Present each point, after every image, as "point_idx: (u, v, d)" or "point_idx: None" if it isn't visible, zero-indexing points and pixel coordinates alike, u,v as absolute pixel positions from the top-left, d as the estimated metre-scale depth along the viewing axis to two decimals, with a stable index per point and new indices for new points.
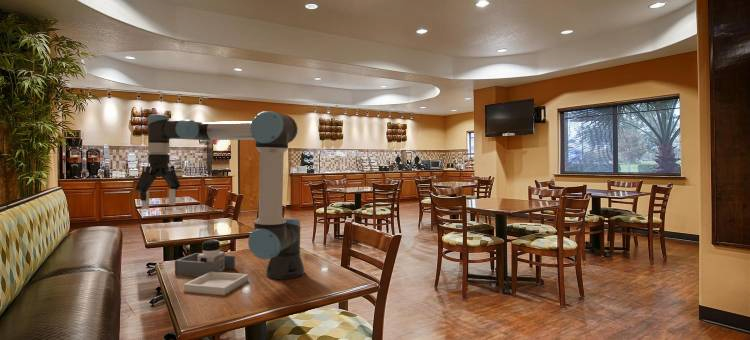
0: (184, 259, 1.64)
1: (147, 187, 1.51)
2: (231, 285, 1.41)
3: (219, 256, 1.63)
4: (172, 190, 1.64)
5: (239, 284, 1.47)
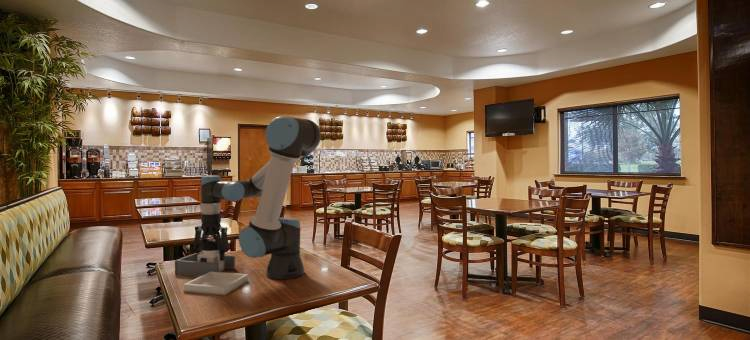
0: (184, 259, 1.64)
1: (199, 247, 1.64)
2: (231, 285, 1.41)
3: None
4: None
5: (239, 284, 1.47)
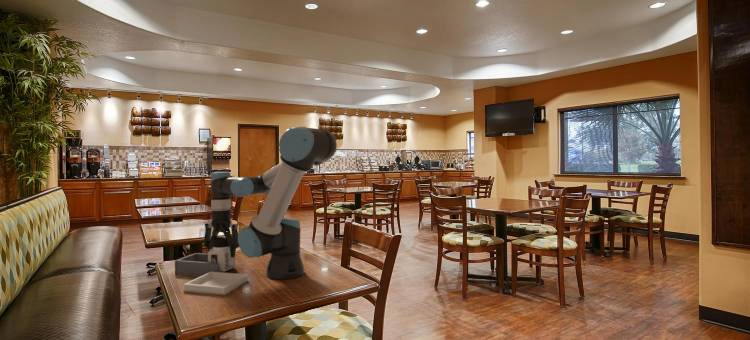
0: (184, 259, 1.64)
1: (209, 244, 1.62)
2: (231, 285, 1.41)
3: None
4: None
5: (239, 284, 1.47)
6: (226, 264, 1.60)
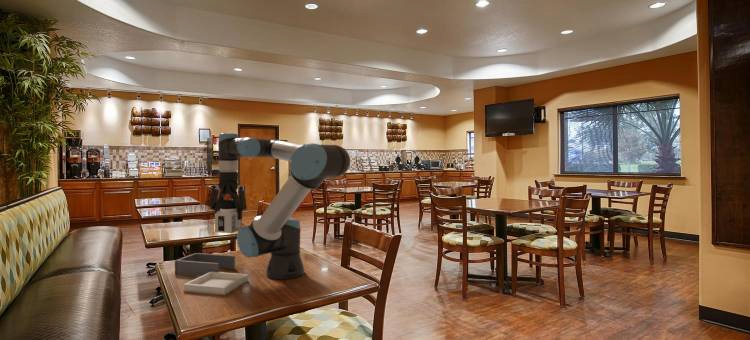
0: (184, 259, 1.64)
1: (216, 206, 1.61)
2: (231, 285, 1.41)
3: None
4: None
5: (239, 284, 1.47)
6: (233, 225, 1.58)
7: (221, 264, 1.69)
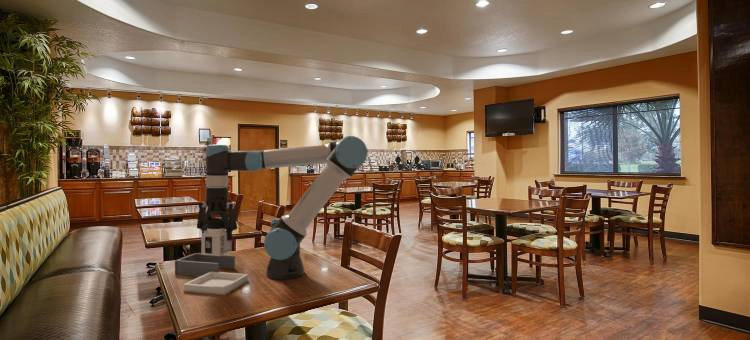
0: (184, 259, 1.64)
1: (203, 225, 1.45)
2: (231, 285, 1.41)
3: None
4: None
5: (239, 284, 1.47)
6: (222, 247, 1.43)
7: (221, 264, 1.69)
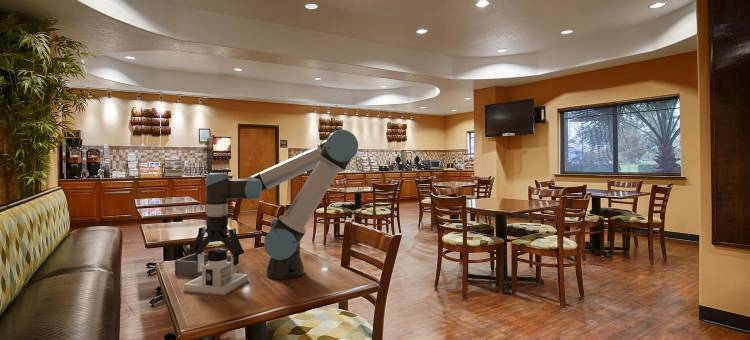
0: (184, 259, 1.64)
1: (198, 249, 1.46)
2: (231, 285, 1.41)
3: (226, 267, 1.45)
4: None
5: (239, 284, 1.47)
6: (223, 279, 1.43)
7: None
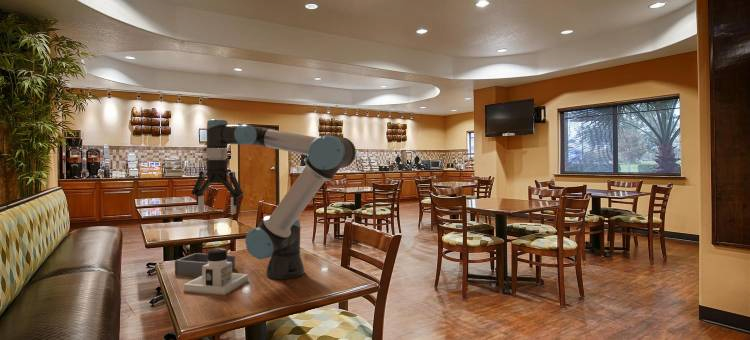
0: (184, 259, 1.64)
1: (199, 191, 1.55)
2: (231, 285, 1.41)
3: (226, 267, 1.45)
4: None
5: (239, 284, 1.47)
6: (223, 279, 1.43)
7: None
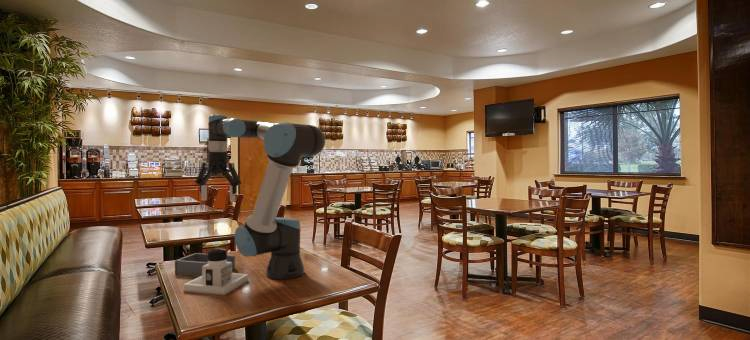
0: (184, 259, 1.64)
1: (202, 181, 1.70)
2: (231, 285, 1.41)
3: (226, 267, 1.45)
4: None
5: (239, 284, 1.47)
6: (223, 279, 1.43)
7: None
